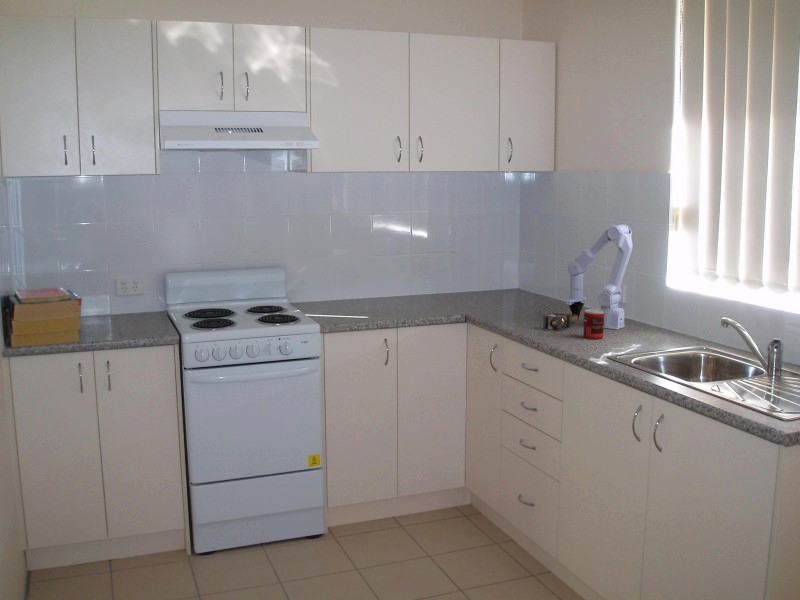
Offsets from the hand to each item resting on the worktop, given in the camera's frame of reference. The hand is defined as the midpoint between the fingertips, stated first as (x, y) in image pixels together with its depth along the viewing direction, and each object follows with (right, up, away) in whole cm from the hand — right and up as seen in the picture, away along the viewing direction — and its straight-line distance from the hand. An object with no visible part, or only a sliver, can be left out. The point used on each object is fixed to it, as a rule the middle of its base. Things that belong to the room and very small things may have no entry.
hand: (575, 319), depth 364 cm
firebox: (-10, -4, -12) cm, 16 cm away
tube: (-7, -3, -8) cm, 11 cm away
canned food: (0, -7, -31) cm, 32 cm away
